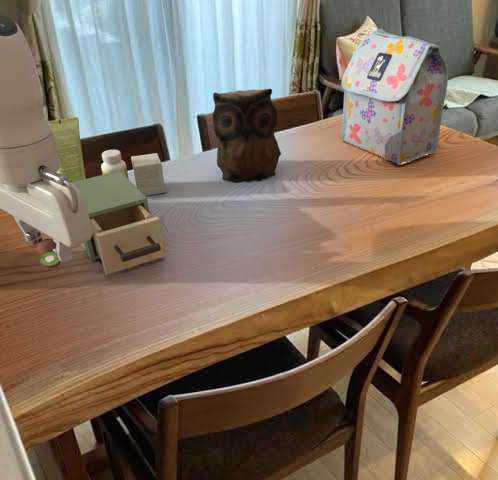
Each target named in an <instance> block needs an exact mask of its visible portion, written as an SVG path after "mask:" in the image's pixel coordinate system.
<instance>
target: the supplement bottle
mask: <svg viewBox="0 0 498 480" xmlns="http://www.w3.org/2000/svg"><path fill="white" fill-rule="evenodd" d="M101 158H102V161H103V163H101V165H100V166H101V167H100V169H101V173H102V175H104V174H108V173H113V172H117V171H121V172H122V173H123V174H124V175H125V176H126V177H127V178H128V179H129V180H130V178H129V173H128V168H127V164H126V161H124V160H123V159H122V153H121V151H120V150H119V149H107V150H105V151H103V152H102V153H101Z"/></svg>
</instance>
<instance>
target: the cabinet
mask: <svg viewBox="0 0 498 480" xmlns="http://www.w3.org/2000/svg"><path fill="white" fill-rule="evenodd" d="M128 178H129V177H128ZM128 178H127V177H126V176H125V175H124V174H123V173H122V172H121V171H117V172H113V173H108V174H104V175H103V174H101V175H100V174H99V175H96V176H92V177H89V178H86V179H84V180H80V181H76V182H71V183H72V184H73V185H74V186H76V187H77V189H78V190H79V192H80V194H81V196H82V198H83V200H84V203H85V206H86V209H87V212H88V215H89V218H90V217H94V216H97V215H101V214H105V213H109V212H112V211H116V210H120V209H123V208H127V207H131V206H134V205H138V204H141V206H142V207H143V208H144V209H145V210H146V211H147V212H148V213H149V214H150V209H149V208H150V207H149V201H148V197H147V196H144V195H143V194H142V193H141V192H140V191H139V190H138V189H137V187H136V184H134V183H133V182H132V181H131V180H130V178H129V179H128ZM80 246H81V247H82V249H83V250H84V251H85V253H86V255H87V256H88V257H89V259H90V260H91V262H95V261H98V260H101V258H100V257H99V255H98V254H97V253H96V251H95V250H94V248H93V245H92V241H91V239H90V240H88V241H86V242H84V243H82V244H80Z"/></svg>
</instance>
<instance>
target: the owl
mask: <svg viewBox="0 0 498 480" xmlns="http://www.w3.org/2000/svg"><path fill="white" fill-rule="evenodd" d="M272 94H273V89H272V88H264V89H247V90H235V91H228V92H221V93H219V92H216V91H214V92H213V93H212V99H213V103H214V110H213V112H212V123H213V127H212V129H213V131H214V132H213V133H214V134H215V137H216V139H217V143H218V145H217V151H216V165H217V167H218V168H219V169H220V171H221V173H222V177H221V179H222V181H224V182H225V181H226V182H229V183H235V184H240V183H243V182H246V183H251V182H255V181H256V182H261V181H263V180H267V179H269V178H270V177H272V176H275V175H276V169H277V166H278V163H279V159H280V156H281V155H282V152H281V149H280V146H279V143H278V140H277V139H276V136H275V132H274V130H275V129H276V127H277V125H278V119H279V118H278V117H279V116H278V112H277V108H276V107H275V105H274V103H273V100H272V97H271V96H272Z"/></svg>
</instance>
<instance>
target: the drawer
mask: <svg viewBox="0 0 498 480" xmlns="http://www.w3.org/2000/svg"><path fill="white" fill-rule="evenodd" d="M90 222H91V225H92V229H93V235H92V237H91V241H92V245H93V248H94V250H95V251H96V253H97V254H98V255H99V257H100V258H101V259H100V260H101V263H102V268H103V272H104V273H105V274H106V275H110V274H113V273H116V272H119V271H122V270H126V269H128V268H132V267H135V266H138V265H141V264H144V263H147V262H151V261H154V260H157V259H160V258H163V257H166V253H165V246H164V245H165V244H164V240H163V232H162V225H161V219H160V217H158V216H153V217H152V215H151V214H150V212H149V213H148V212H147V211H146V210H145V209H144V208H143V207H142V206H141V204H138V205H134V206H131V207H127V208H123V209H120V210H116V211H112V212H109V213H105V214H101V215H97V216H94V217H90Z"/></svg>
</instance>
